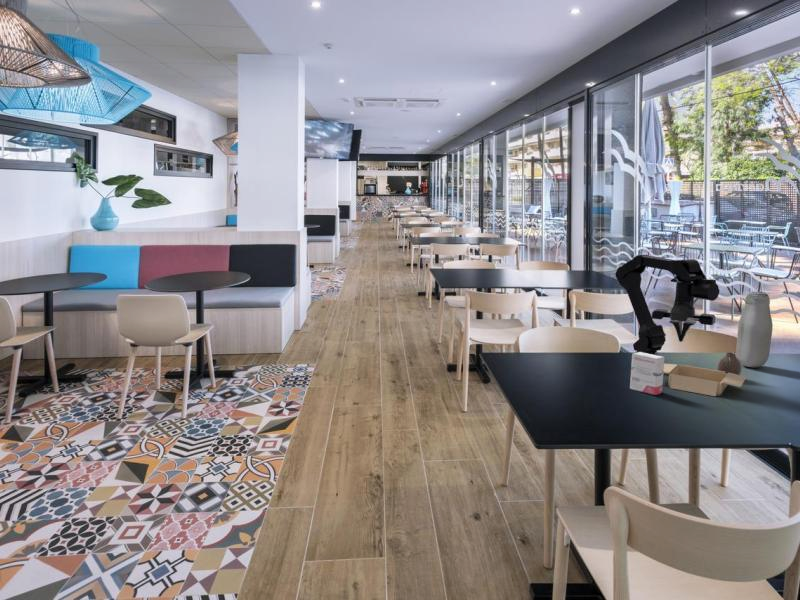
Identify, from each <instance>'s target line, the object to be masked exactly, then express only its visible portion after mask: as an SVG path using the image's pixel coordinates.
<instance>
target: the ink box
mask: <svg viewBox="0 0 800 600" xmlns="http://www.w3.org/2000/svg"><path fill="white" fill-rule="evenodd" d="M657 355H658V354H657ZM657 355H652V354H648V353H643V352H638V353H637V352H633V353H632V354H631V366H630V367H631V368H630V383H629V389H630V390H634V391H637V392H640V393H641V392H642V393H646V394H650V395H653V396H656V395H657V396H658V395H659V394H660V395H661V393H662V392H663V385H664V384H663V382H664V373H663V372H664V363H665V356H661V355H658V356H657Z"/></svg>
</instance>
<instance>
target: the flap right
mask: <svg viewBox="0 0 800 600" xmlns="http://www.w3.org/2000/svg"><path fill="white" fill-rule="evenodd" d="M746 379H747V376H744V375H742V374H740V375H737V374H733V373H728V374H727V375H726V377H725V378H724V380H723V381H722V383H725V384H727V385H729V386H732V387H733V386H734V387H737V388H741V387H742V385H743V384H744V382H745V380H746Z"/></svg>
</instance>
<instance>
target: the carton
mask: <svg viewBox="0 0 800 600" xmlns="http://www.w3.org/2000/svg"><path fill="white" fill-rule="evenodd" d="M726 375H727V374H726V373H725V371H718V369H711V368H705V367H699V366H693V365H685V364H681V365H678V366H677V367H676V368H675V369H674V370H673V371H672V372H671V373H670V374H668V383H667V386H668V387H669V388H670V389H674V390H678V391H684V392H689V393H694V394H695V393H696V394H699V395H700V394H701V395H704V396H705V395H706V396H712V397H716V396H719V397H721V396H722V395H723V393H724V391H725V390H726V388H727V387H728V384H725V383H722V381H723V380H724V378H725V377H726Z"/></svg>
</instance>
